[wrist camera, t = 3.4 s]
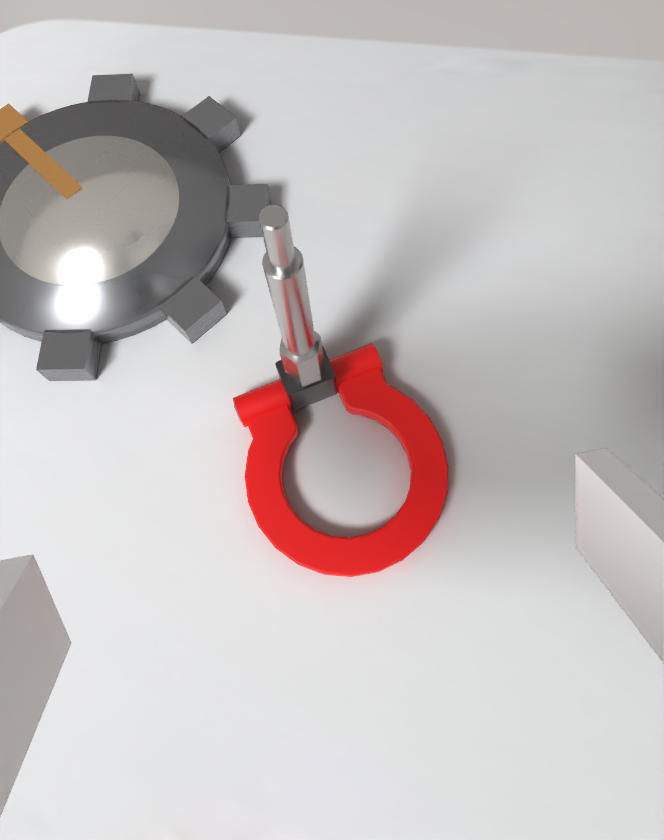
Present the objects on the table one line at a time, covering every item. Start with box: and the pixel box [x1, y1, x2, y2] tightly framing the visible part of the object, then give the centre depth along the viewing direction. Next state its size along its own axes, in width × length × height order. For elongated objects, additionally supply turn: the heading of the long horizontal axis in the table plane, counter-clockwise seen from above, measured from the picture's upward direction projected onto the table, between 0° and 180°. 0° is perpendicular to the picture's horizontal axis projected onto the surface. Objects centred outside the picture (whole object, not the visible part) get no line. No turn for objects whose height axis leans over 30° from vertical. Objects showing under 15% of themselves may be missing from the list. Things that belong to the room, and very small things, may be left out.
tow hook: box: [233, 205, 448, 577], centre depth 21 cm, size 8×13×9 cm
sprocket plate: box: [0, 74, 271, 381], centre depth 31 cm, size 18×18×1 cm
